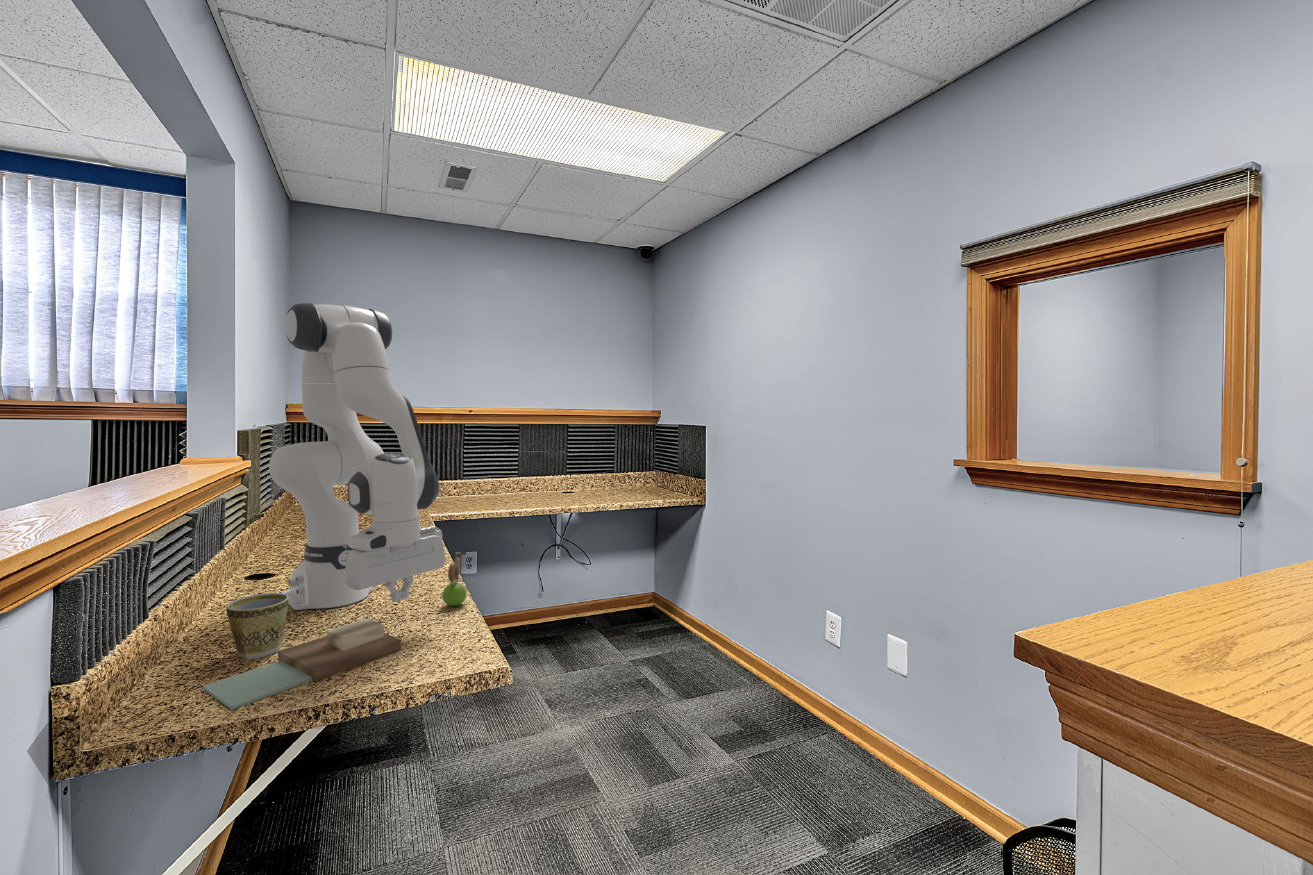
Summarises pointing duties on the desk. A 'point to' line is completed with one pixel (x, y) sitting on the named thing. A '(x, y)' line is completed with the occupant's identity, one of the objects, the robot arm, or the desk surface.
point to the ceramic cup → (258, 623)
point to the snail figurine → (454, 585)
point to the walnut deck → (335, 656)
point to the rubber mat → (256, 684)
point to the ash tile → (355, 634)
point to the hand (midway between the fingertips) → (400, 599)
